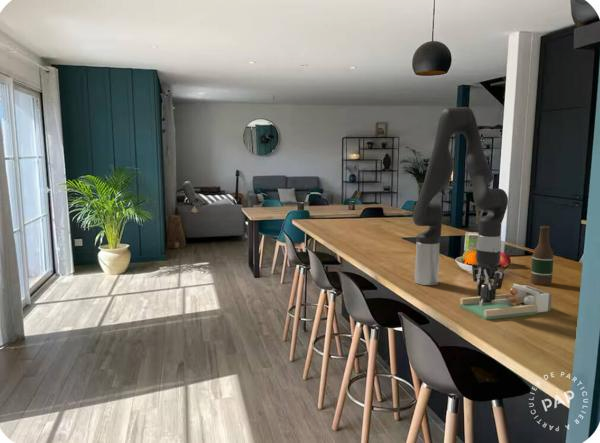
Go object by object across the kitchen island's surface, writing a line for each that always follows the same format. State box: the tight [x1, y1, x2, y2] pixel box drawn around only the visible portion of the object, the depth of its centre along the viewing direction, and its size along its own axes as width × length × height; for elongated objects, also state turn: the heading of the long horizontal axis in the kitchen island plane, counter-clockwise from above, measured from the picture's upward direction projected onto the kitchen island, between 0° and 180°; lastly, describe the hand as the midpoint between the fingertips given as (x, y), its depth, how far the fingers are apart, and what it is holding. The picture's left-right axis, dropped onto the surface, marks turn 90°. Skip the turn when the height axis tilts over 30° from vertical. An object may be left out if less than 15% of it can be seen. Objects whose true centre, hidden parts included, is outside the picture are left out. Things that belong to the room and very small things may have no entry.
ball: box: [523, 296, 534, 305], centre depth 165 cm, size 4×4×4 cm
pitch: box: [459, 293, 538, 321], centre depth 161 cm, size 14×20×3 cm
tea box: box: [463, 231, 478, 253], centre depth 231 cm, size 15×10×15 cm, turn 81°
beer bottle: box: [530, 225, 555, 287], centre depth 194 cm, size 8×8×24 cm
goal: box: [512, 283, 553, 313], centre depth 165 cm, size 11×6×7 cm, turn 16°
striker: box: [479, 283, 521, 306], centre depth 161 cm, size 5×14×8 cm, turn 106°
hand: (485, 297), depth 160 cm, fingers open, 5 cm apart
